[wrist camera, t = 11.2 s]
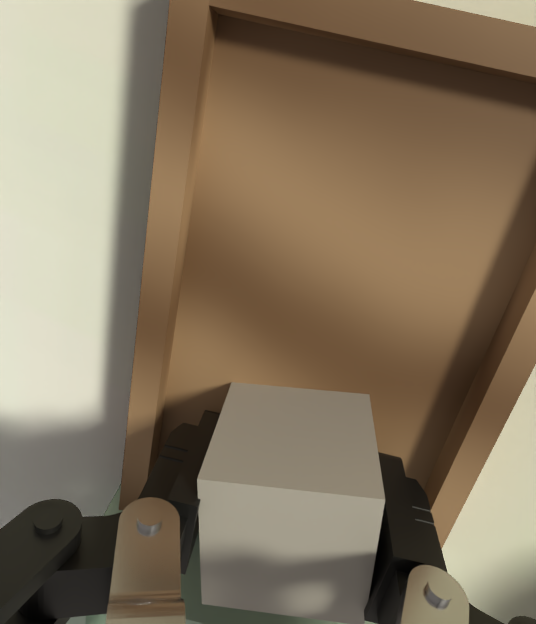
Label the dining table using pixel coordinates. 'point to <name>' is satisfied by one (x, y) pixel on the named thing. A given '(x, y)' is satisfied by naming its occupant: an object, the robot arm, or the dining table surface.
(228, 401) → the stone
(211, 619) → the bin
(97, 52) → the dining table surface
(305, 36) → the tray
